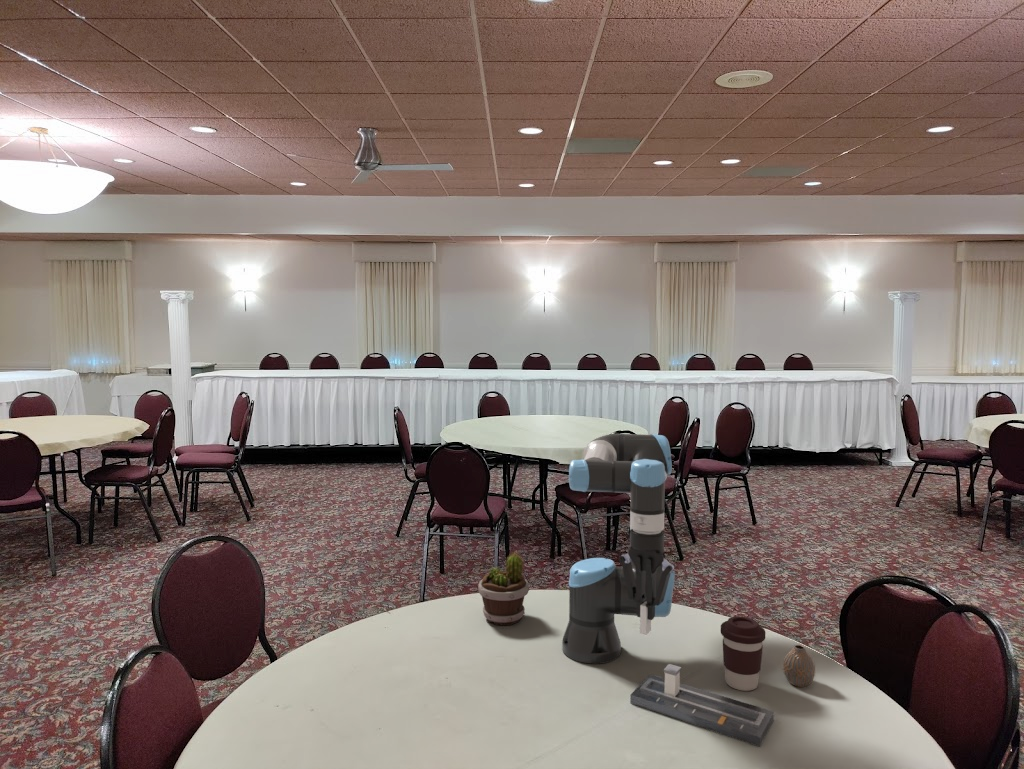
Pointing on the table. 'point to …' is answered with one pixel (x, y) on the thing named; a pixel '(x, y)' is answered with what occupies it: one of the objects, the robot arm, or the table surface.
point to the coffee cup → (742, 652)
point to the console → (705, 710)
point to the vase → (799, 667)
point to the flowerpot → (504, 592)
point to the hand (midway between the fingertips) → (645, 631)
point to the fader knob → (672, 680)
